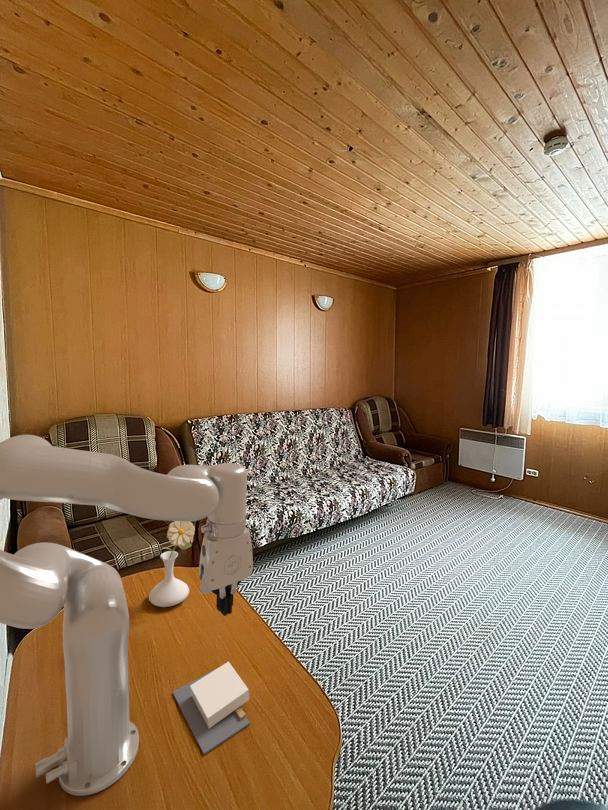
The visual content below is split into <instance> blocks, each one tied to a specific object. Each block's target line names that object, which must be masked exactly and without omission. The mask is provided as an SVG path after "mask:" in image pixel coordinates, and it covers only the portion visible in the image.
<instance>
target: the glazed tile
mask: <svg viewBox="0 0 608 810" xmlns="http://www.w3.org/2000/svg"><path fill="white" fill-rule="evenodd" d="M213 670H214V671H213V672H211V671H210V672H211V673H209V672H208V673H209V674H208V675H206V676H205V677H203V678H201V679H200V680H198V681H197V682H195V683H194V684H192V685H190V690H191V696H192V698H193V700H194V702H195V703H196V705H197V707H198V709H199V711H200V713H201V715H202V717H203V718H204V720H205V722H206V724H207V726H208V728H211V727H212V726H213V725H215V724H216V723H218V722H219V721H220V720H222V719H223V718H225V717H226V716H227V715H229V714H230V713H231V712H233V711H234V710H236V709H237V708H238V707H241V706H242V705H244V704H245V703H247V702H249V701H250V698H251V697H250V690H249V688H248V686H247V685H246V683H245V682H244V681H243V679H242V678H241V677H240V675H239V674H238V672H237V671H236V669H235V668H234V667H233V665H232V664H231V663H230V661H227V662H225V663H224V664H222V665H220V666H219V667H218V668H216V669H213Z"/></svg>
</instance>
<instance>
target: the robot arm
mask: <svg viewBox="0 0 608 810" xmlns="http://www.w3.org/2000/svg"><path fill="white" fill-rule="evenodd" d="M247 486H248V471H247V468H246V467H245V466H243V465H242V464H240V463H239V464H238V463H234V462H224V463H218V464H215V465H206V464H205V465H202V464H201V465H199V464H182V465H178V466H175V467H174V468H172V469H171V470H170V471H168V473H167V474H163V473H158V472H155V471H151V470H148V469H145V468H142V467H141V466H138V465H136V464H134V463H132V462H130V461H129V460H127V459H124V458H123V457H121V456H117V455H115V454H112V453H104V452H96V451H89V450H82V449H81V450H80V449H74V448H66V447H59V446H54V445H52V443H50V442H49V441H48V440H46V439H45V438H43V437H41V436H38V435H34V434H19V435H15V436H12V437H9V438H6V439H4V440H3V441H0V501H1V500H3V499H7V500H14V501H24V502H38V503H39V502H42V503H57V504H72V505H83V506H84V505H86V506H95V507H96V506H97V507H103V508H106V509H110V510H113V511H115V512H119V513H124V514H127V515H132V516H135V517H138V518H143V519H150V520H155V521H167V522H169V521H170V522H174V521H191V522H196V521H201V520H203V519H206V518H207V519H206V524H204V525H202V526H201V527H200V530H201V533H202V534H204V535H203V538H202V542H201V543H202V544H201V549H200V555H199V567H198V576H199V577H198V578H199V580H200V585H199V588H198V590H199V591H200V592H201V594H202V595H203V594H210V593H212V594H214V595H216V601H215V603H216V609H217V611H218V612H220V613H221V614H222V615H223V617H226V616H228V615H231V614H233V606H234V594H236V592H237V589H238V586H239V585H240V584H241V582H242V581H245V579H248V578H249V577H250V576H251V575H252V573H253V568H254V566H253V565H254V564H253V563H254V561H253V559H254V556H253V545H252V539H251V533H250V532H251V531H250V530H249V528H247V527H246V525H247V524H246V523H247V522H246V520H247V519H246V518H247V494H248V493H247V490H248V489H247V488H248V487H247ZM123 586H124V585H123V581H122V578H121V575H120V574H119V572H118V571H117V570H116V568H114V566H112V565H110V564H108V563H106V562H104V561H102V560H100V559H96V558H95V557H92V556H90V555H86V554H85V553H82V552H80V551H78V550H75V549H72V548H70V547H67V546H65V545H63V544H59V543H55V542H45V541H43V542H36V543H31V544H29V545H26V546H24V547H23V548H21V549H19V550H18V551H16V552H15V553H14V554H13V553H9V552H6V551H4V550H2V549H0V624H3V625H5V626H10V627H14V628H17V629H26V630H27V629H28V630H33V629H38V628H41V627H43V626H47V624H49V623H50V622H52V621H53V620H55V619H56V617H58V615H60V612H61V611H62V610H63V621H62V650H63V660H64V661H63V662H64V675H65V676H64V678H65V681H64V682H65V692H66V693H65V696H66V697H65V698H66V714H67V715H66V717H67V720H66V721H67V737H65V738H64V740H63V741H64V746H62V747H60V748H58V749H57V752H56V753H54V754H52V755H50V756H49V757H48V756H47V757H45V758H42V759H41V760H39V761H37V762H35V776H36V777H35V778H39V777H40V776H42V775H44V774H45V782H46V783H45V784H46V785H48V784H49V783H51V782H53V781H55V780H56V779H57V778H58V782H59V785H60V787H61V788H62V790H64V792H66V793H67V794H69V795H72V796H78V797H82V796H90V795H93V794H97V793H100V792H101V791H104V790H105V789H106V788H108V787H110V786H112V785H113V784H114V783H116V782H117V781H119V780H120V778H122V776H123V775H125V773H126V772H128V769H129V768H130V767H131V766H132V764H133V762H134V760H135V759H136V756H137V753H138V751H139V747H140V746H139V745H140V734H139V730H138V728H137V726H136V725H135V723H133V722H132V721H131V720H130V684H129V683H130V681H129V680H130V679H129V678H130V677H129V633H130V613H129V607H128V602H127V597H126V593H125V590H124V587H123ZM57 766H58V767H57ZM55 767H57V768H55ZM53 768H54V769H53ZM51 769H52V770H51Z"/></svg>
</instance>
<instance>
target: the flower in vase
mask: <svg viewBox="0 0 608 810" xmlns="http://www.w3.org/2000/svg"><path fill="white" fill-rule="evenodd" d="M195 528H196V526H195V525H194V524H193V522H192V521H171V523H170V524H169V525H168V530H167V532H166V533H167V534H166V538H167V539H168V541H169V542H170V544H171V545H174V547H173V549H171V548H170V547H164V546H161V548H162V549H164V550H167V551H164V552H163V553H161V554H160V556H159V557H160V558H159V559H161V560H162V561H163V564H164V571H165V573H164V574H165V575H164V578H163V580H162V581H160V582H159V583H157V584H156V585H155V586H154V587H153V588H152V589H151V590H150V592H149V594H148V600H149V602H151V604H152V605H153V606H155V607H160V608H166V607H167V608H168V607H172V606H176V605H179V604H180V603H182V602H183V601H185V599H186V598H187V597H188V596H189V594H190V588H189V586H188V584H187V583H186V582H184V581H183V580H182V579H178V578H176V577H175V576H174V566H175V561H176V559H177V557H178V556H179V553H178V552H177V551H175V549H176V548H177V547H178V548H179V549H181V550H183V551H184V550H186V549H187V550H188V549H189V548H191V547H192V546H193V544H192V543H190V542H191V541H193V539H194V535H195V531H196V529H195Z"/></svg>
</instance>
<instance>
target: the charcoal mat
mask: <svg viewBox="0 0 608 810" xmlns="http://www.w3.org/2000/svg"><path fill="white" fill-rule="evenodd" d="M214 670H215V669H212V670H211V671H209V672H207V673H205V674H202V676H199V677H198V678H195V679H194V680H192V681H190V682H188V683H186V684H184V685H181V686H180V687H179V688H176V689H175V690H173V691H172V694H173V695H172V696H173V697H174V699H175V700H176V703H177V705H178V707H179V709H180V711H181V713H182V715H183V717H184V718H185V720H186V723H187V724H188V727H189V728H190V731H191V732H192V734H193V736H194V738H195V741H196V742H197V744H198V746H199V748H200V750H201V752H202V754H203V756H206V755H207V754H208V753H210V752H212V750H214V749H215V748H217V747H218V746H220V745H222V744H223V743H225V742H226V741H228V740H230V739H231V738H232V737H233V736H235V735H236V734H238V733H240V732H241V731H243V730H244V729H246V728H247V727H249V725H251V722H250V720H249V719H248V717H247V716H246V713H245V711H244V710H243V708H242V707H241V706H240V707H238V708H237V709H236V710H234V711H233V712H231V713H230V714H229V715H227V716H226V717H225V718H223V719H222V720H220V721H219V722H218V723H216V724H215V725H213V726H212V727H211V728H208V726H207V724H206V722H205V720H204V718H203V717H202V715H201V713H200V711H199V709H198V707H197V705H196V703H195V702H194V700H193V698H192V696H191V690H190V685H192V684H194V683H195V682H197V681H198V680H200V679H201V678H203V677H205V676H206V675H208V674H209V673H211V672H213V671H214Z"/></svg>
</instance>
